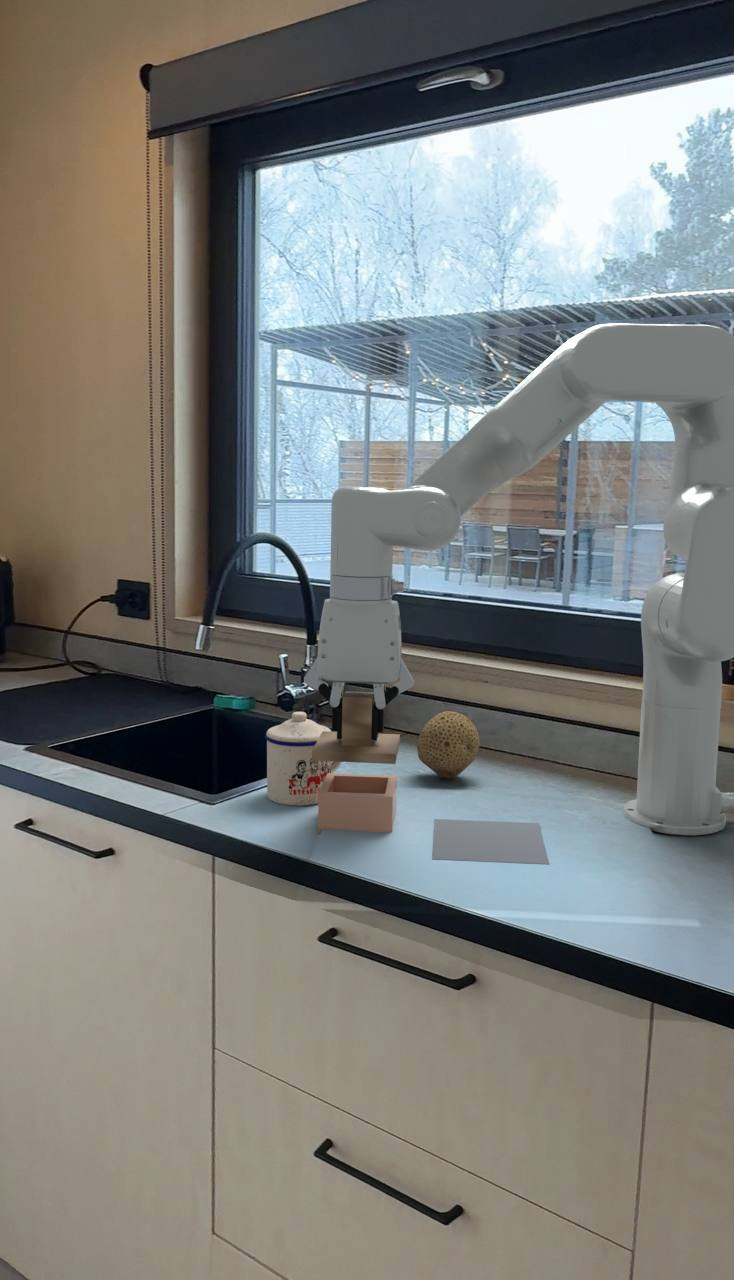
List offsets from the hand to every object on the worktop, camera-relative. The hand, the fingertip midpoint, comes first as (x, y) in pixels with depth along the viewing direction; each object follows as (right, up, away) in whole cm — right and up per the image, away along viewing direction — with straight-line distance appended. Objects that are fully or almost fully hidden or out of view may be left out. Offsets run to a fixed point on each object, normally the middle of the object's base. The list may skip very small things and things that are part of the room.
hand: (357, 736), depth 126 cm
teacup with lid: (-7, -9, +13) cm, 18 cm away
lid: (0, -2, 0) cm, 2 cm away
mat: (+15, -12, -6) cm, 21 cm away
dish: (0, -11, +2) cm, 11 cm away
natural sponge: (+13, -8, +21) cm, 26 cm away
